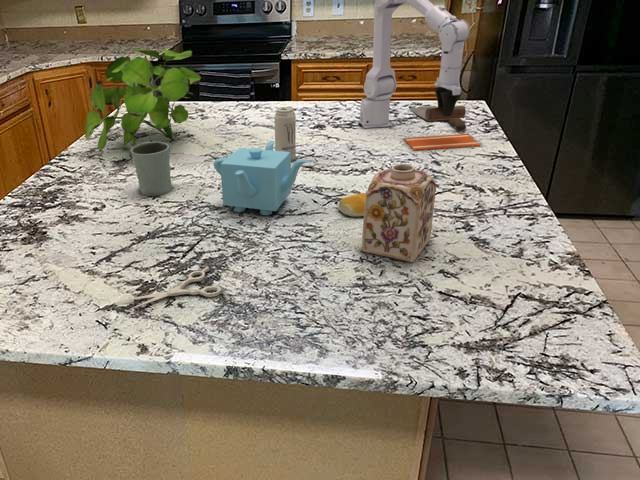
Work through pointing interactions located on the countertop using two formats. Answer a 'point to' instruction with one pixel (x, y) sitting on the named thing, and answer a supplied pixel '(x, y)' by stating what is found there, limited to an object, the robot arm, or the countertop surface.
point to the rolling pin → (438, 113)
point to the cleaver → (453, 122)
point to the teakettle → (257, 178)
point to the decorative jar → (398, 213)
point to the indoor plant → (141, 96)
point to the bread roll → (353, 205)
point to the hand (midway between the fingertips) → (444, 114)
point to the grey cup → (152, 167)
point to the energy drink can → (285, 131)
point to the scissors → (180, 291)
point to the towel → (441, 142)
